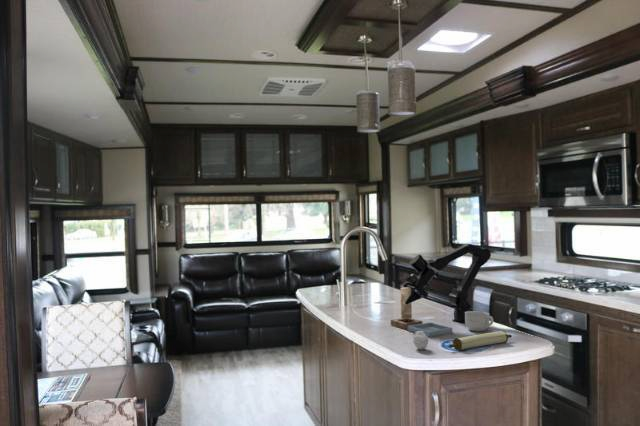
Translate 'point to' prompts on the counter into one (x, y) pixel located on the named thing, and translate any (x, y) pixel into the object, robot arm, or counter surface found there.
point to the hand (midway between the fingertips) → (403, 302)
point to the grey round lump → (420, 340)
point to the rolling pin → (479, 340)
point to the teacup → (477, 320)
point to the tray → (430, 329)
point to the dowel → (405, 309)
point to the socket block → (405, 322)
